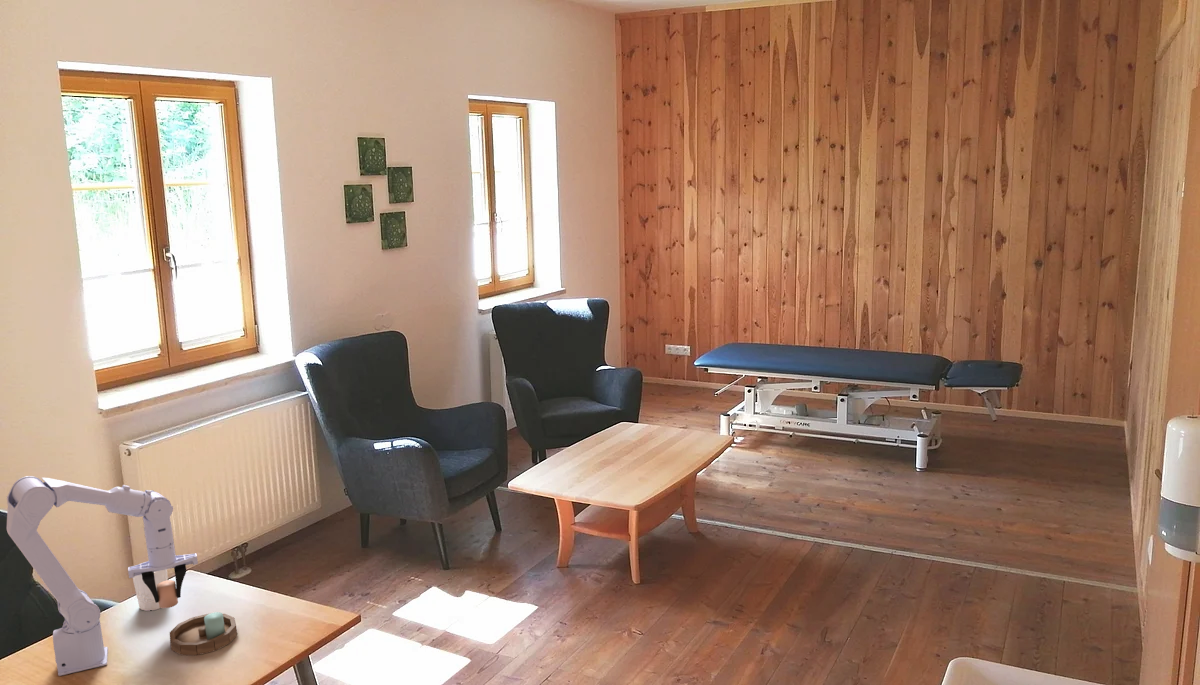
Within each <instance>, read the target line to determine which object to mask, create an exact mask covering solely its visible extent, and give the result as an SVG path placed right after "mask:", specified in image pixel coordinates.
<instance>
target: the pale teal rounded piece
mask: <svg viewBox="0 0 1200 685" xmlns="http://www.w3.org/2000/svg"><path fill="white" fill-rule="evenodd" d="M207 614H208V615H206V616H205V617H204V621H205V629H206V636H207V640H210V639H213V638H215V637H217V636H219V635H221V634H223V633H225V627H224V619H223V614H224V613H223V612H219V611H217V612H216V611H213V612H211V613H207Z"/></svg>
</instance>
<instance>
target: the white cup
mask: <svg viewBox="0 0 1200 685" xmlns="http://www.w3.org/2000/svg"><path fill="white" fill-rule="evenodd" d="M154 577H155V584H156V589H157V584H159V583H160V582H163V581H167V580H169V576H168V569H166V570H161V571H156V572H154ZM132 581H133V582H132V583H133V586H134V591H135V595H136V599H137V602H138V608H139V609H140V610H142V611H147V612H149V611H150V610H152V611H155V610H159V609H161V608H160V607H159V602H157V603H156V602H155V599H154V596H153V594H152V592H151V591H150V589H149V588H148V586H147V585H146V584H145V583H144V582H143V580H142V575H137V576H134V577H133V578H132Z"/></svg>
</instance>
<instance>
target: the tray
mask: <svg viewBox="0 0 1200 685" xmlns="http://www.w3.org/2000/svg"><path fill="white" fill-rule="evenodd" d="M208 614H209V613H206V614H202V615H197V616H192V617H190V618H189V619H185V620H183V621H182V622H179V623H178V624H176V626H175V627H174V628H172V630H170V631H169V641H170V642H169V643H170V649H171V651H172V652H175V653H177V654H178V655H180V656H199V655H203V654H208V653H212V652H215V651H218V650H219V649H220V650H221V649H222V648H224V647H225V646H228V645H229V644H231V643H232V641H233V640H234V639H235V638H236V637H237V635H238V629H237V623H236V619H235V617H234V616H231V615H228V614H226V613H222V614H223V619H224V627H225V633H223V634H221V635H219V636H217V637H215V638H213V639H210V640H207V636H206V629H205V621H204V617H205V616H206V615H208Z"/></svg>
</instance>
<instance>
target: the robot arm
mask: <svg viewBox="0 0 1200 685" xmlns="http://www.w3.org/2000/svg"><path fill="white" fill-rule="evenodd" d="M41 479H42V480H41ZM41 479H40V478H39V477H36V476H34V475H26V476H23V477H20V478H19V479H17V480H16V481H15V482H14V483H13V484H12V486H11V488H10V489H9V492H8V494H7V496H6V504H7V514H6V531H7V534H8V536H9V537H10V539H11V540H12V541H13V543H14V544H15V545H16V547H17V548H18V549H19V551H21V552H20V553H22V555H23V556H24V557H25V559H26V560H27V561H28V563H29V564H30V565H31V567H32V569H34V570H35V573H37V575H38V576H39V578H40V579H41V580H42V582H43V583H44V585H45V586H46V587H47V588H48V590H49V591H50V592H51V594H52V596H54V598H55V600H56V602H57V609H58V612H59V614H60V615H61V616H63V618H64V621H63V623H62V624H63V625H62V627H60V628H57V629H54V630H53V632H52V643H53V644H52V645H53V650H54V658H55V659H54V660H55V663H56V668H57V676H58V677H61V676H65V675H68V674H74V673H78V672H82V671H87V670H91V669H95V668H100V667H102V666H106V665H107V664H108V654H109V652H108V648H109V647H108V646H105V645H104V639H103V634H102V633H103V631H102V626H101V620H100V618H101V610H100V607H99V606H98V604H96V603H95V602H94V601H93V600H92V599H91V598H90V596H89V594H88V593H87V592H86V591H84V590H82V589H79V587H78V586H77V585H76V583H75V582H74V580H73V579H72V578H71V577H70V575H69V574H68V572H67V571H66V570H65V568H64V567H63V566H62V564H61V563H60V561H59V560H58V558H57V557H56V555H55V554H54V553H53V552H52V550H51V549H50V547H49V546H48V544H47V543H46V542H45V540H44V539H43V537H42V536H41V535H40V533H39V532H38V528H39V525H40V523H41V522H42V520H43V519H44V518H45V517H46V515H47V514H48V513H49V512H50V511H51V510H52V508H53V506H55V507H56V508H59V507H61V506H62V505H64V504H66V503H67V502H75V503H83V504H89V505H99V506H105V509H106V510H107V511H108V513H111V514H118V515H123V516H124V515H125V516H131V517H135V518H140V517H142V520H143V531H144V538H145V545H146V551H147V552H146V553H147V558H148V561H144V562H141V563H139V564H136V565H132V566H128V567H127V572H128V578H129V579H133V577H134V576H137V575H142V580H143V582H144V583H145V584H146V585H147V586H148V588H149V589H150V591H151V592H152V594H153V596H154V599H155V602H156V603H157V602H159V599H158V593H157V589H156V584H155V577H154V572H156V571H161V570H166V569H167V570H169V569H173V570H174V571H173V572H174V575H175V576H174V577H175V584H176V591H177V598H178V599H179V598H181V593H182V586H183V581H184V579H185V576H186V574H187V566H189V565H193V566H194V565H198V564H199V563H198V555H197V553H196V552H195V553H188V554H178V555H176V549H175V541H174V533H173V527H172V522H171V516H172V514H173V511H174V506H173V505H172V503H171V501H170V500H169V499H168V498H167V497H166V496H164V495H162V494H161V493H159V492H158V491H155V490H153V489H152V490H150V489H145V490H144V491H143V490H137V489H132V488H131V486H130V485H126V484H122V485H121V486H115V487H112V488H110V489H109V490H106V489H102V488H98V487H97V488H96V487H93V486H87V485H84V484H80V483H74V482H69V481H66V480H61V479H56V478H52V477H41Z"/></svg>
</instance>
